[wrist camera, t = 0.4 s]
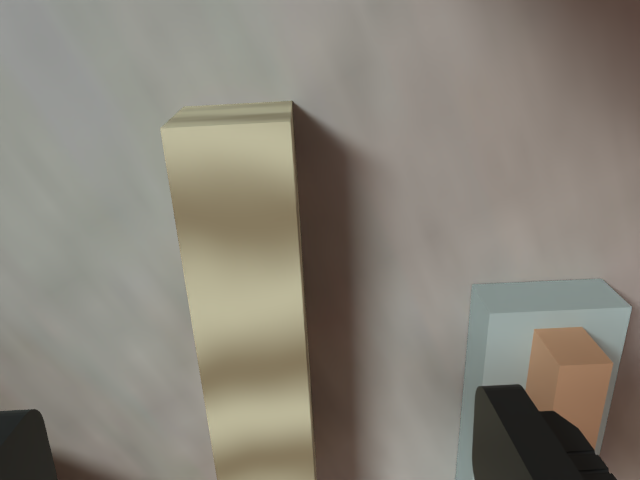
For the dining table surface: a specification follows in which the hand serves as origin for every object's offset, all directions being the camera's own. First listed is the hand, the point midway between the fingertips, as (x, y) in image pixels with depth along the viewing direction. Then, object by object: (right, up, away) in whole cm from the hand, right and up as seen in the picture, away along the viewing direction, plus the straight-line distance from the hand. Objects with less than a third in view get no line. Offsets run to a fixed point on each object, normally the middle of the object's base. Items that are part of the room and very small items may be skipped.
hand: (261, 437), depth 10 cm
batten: (-2, 0, +20) cm, 20 cm away
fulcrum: (+13, -7, +23) cm, 27 cm away
